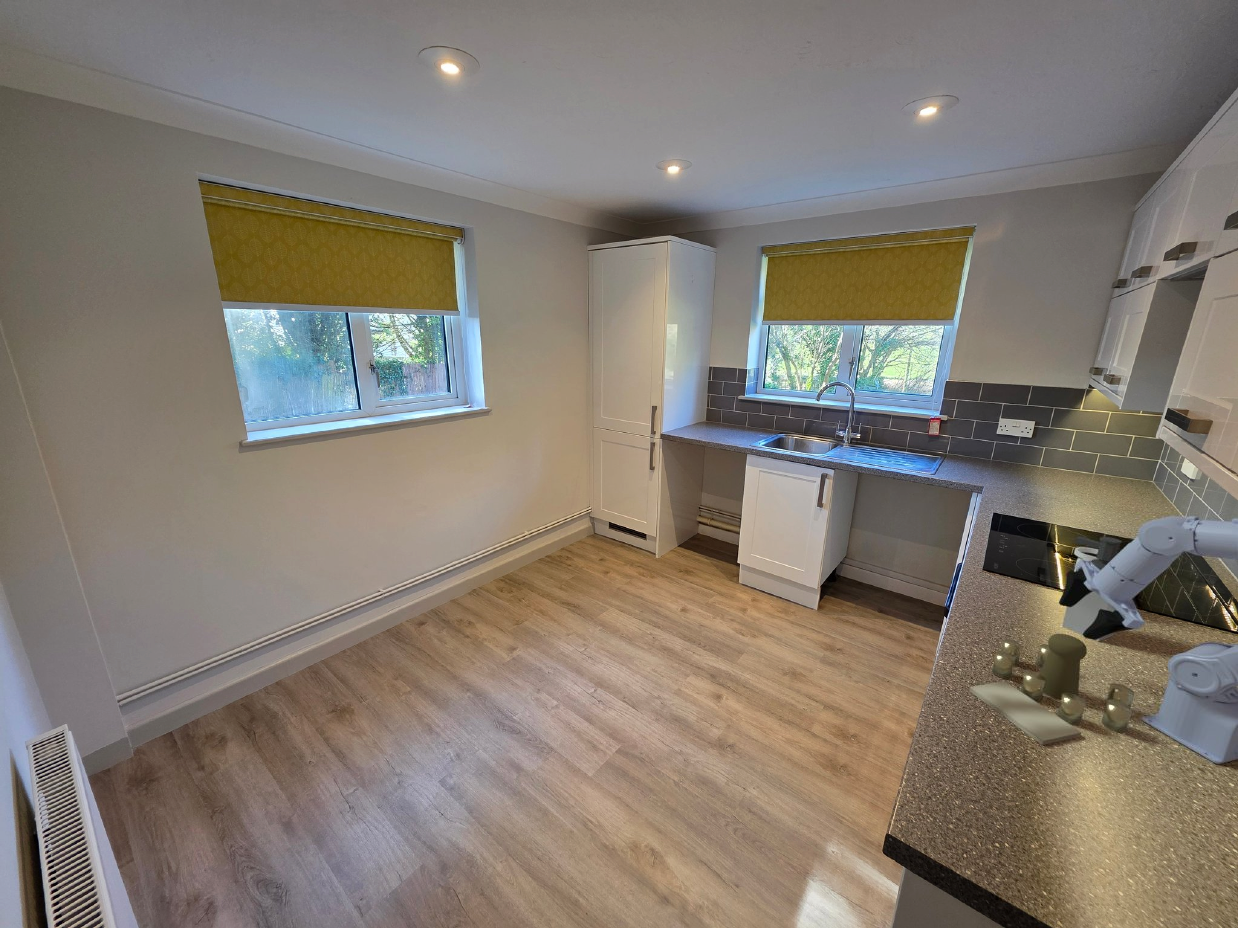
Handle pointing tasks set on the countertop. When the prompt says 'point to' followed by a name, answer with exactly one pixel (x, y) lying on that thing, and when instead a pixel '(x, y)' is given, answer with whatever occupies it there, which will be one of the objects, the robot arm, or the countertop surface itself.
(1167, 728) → the robot arm
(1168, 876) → the countertop surface
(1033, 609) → the countertop surface
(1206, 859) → the countertop surface
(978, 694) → the pale grey metal board
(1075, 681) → the cork
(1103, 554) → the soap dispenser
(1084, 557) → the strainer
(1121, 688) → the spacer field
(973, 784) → the countertop surface
